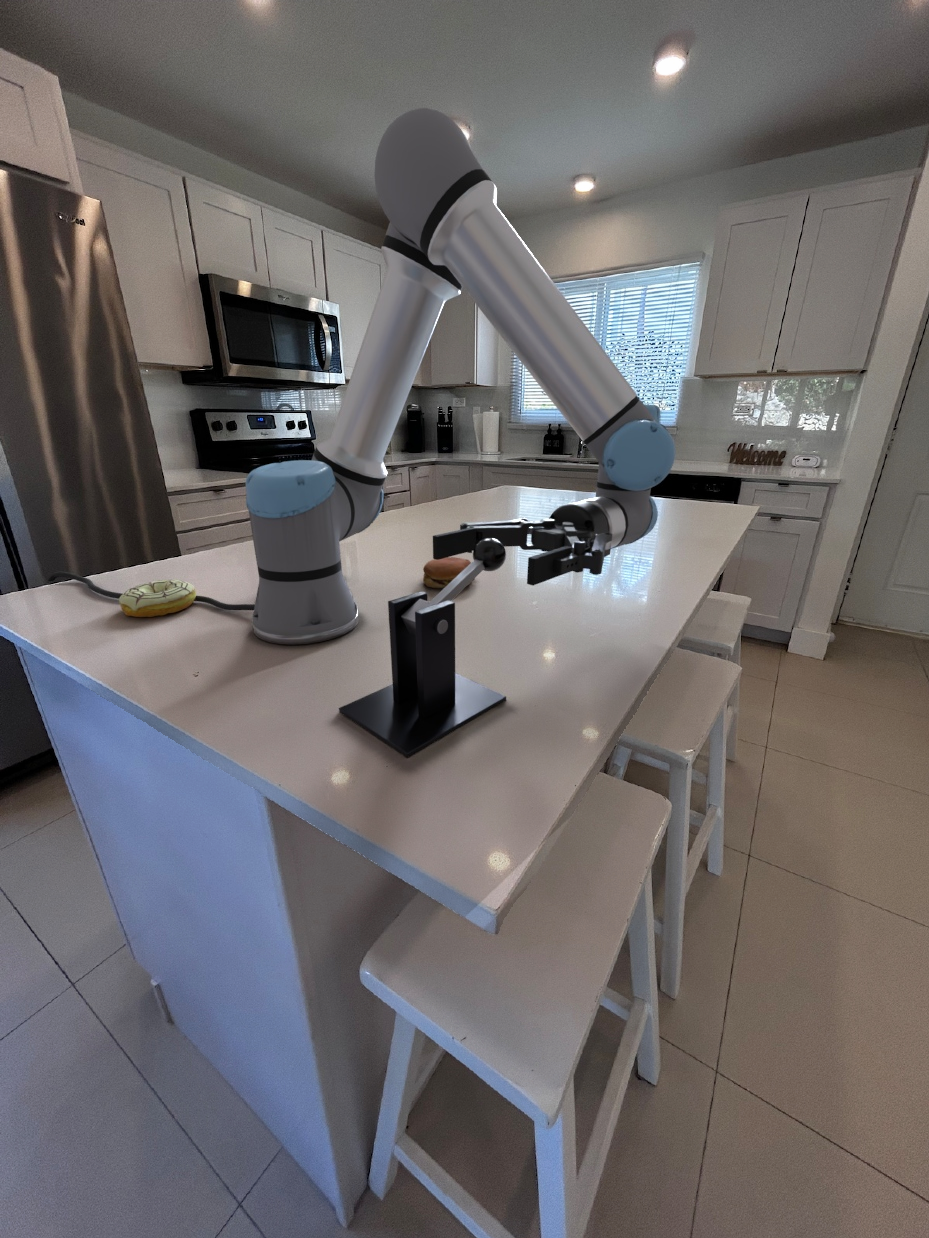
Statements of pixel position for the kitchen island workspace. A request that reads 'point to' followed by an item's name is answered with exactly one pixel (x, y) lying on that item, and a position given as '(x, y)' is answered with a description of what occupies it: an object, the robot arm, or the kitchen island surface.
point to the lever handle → (462, 577)
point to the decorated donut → (157, 598)
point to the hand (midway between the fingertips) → (478, 558)
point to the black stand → (421, 683)
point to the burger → (443, 571)
